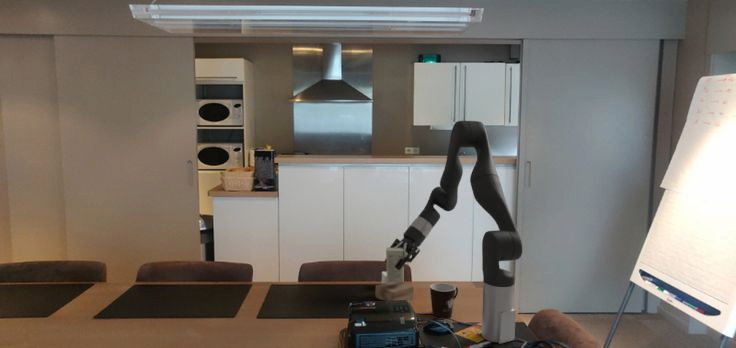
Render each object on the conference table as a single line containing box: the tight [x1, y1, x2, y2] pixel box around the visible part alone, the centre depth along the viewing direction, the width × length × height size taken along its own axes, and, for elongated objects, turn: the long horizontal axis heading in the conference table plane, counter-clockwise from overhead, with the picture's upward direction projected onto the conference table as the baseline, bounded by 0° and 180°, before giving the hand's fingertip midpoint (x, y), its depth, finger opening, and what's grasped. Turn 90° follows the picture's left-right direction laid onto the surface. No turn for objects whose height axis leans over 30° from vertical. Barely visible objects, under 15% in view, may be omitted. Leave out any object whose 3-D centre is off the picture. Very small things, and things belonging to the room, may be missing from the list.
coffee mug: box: [429, 282, 459, 319], centre depth 170 cm, size 12×9×10 cm
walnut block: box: [374, 282, 415, 302], centre depth 186 cm, size 10×10×5 cm
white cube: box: [381, 270, 387, 284], centre depth 198 cm, size 6×6×6 cm
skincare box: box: [385, 247, 405, 283], centre depth 185 cm, size 6×4×12 cm
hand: (391, 265), depth 184 cm, fingers closed on skincare box, 7 cm apart
